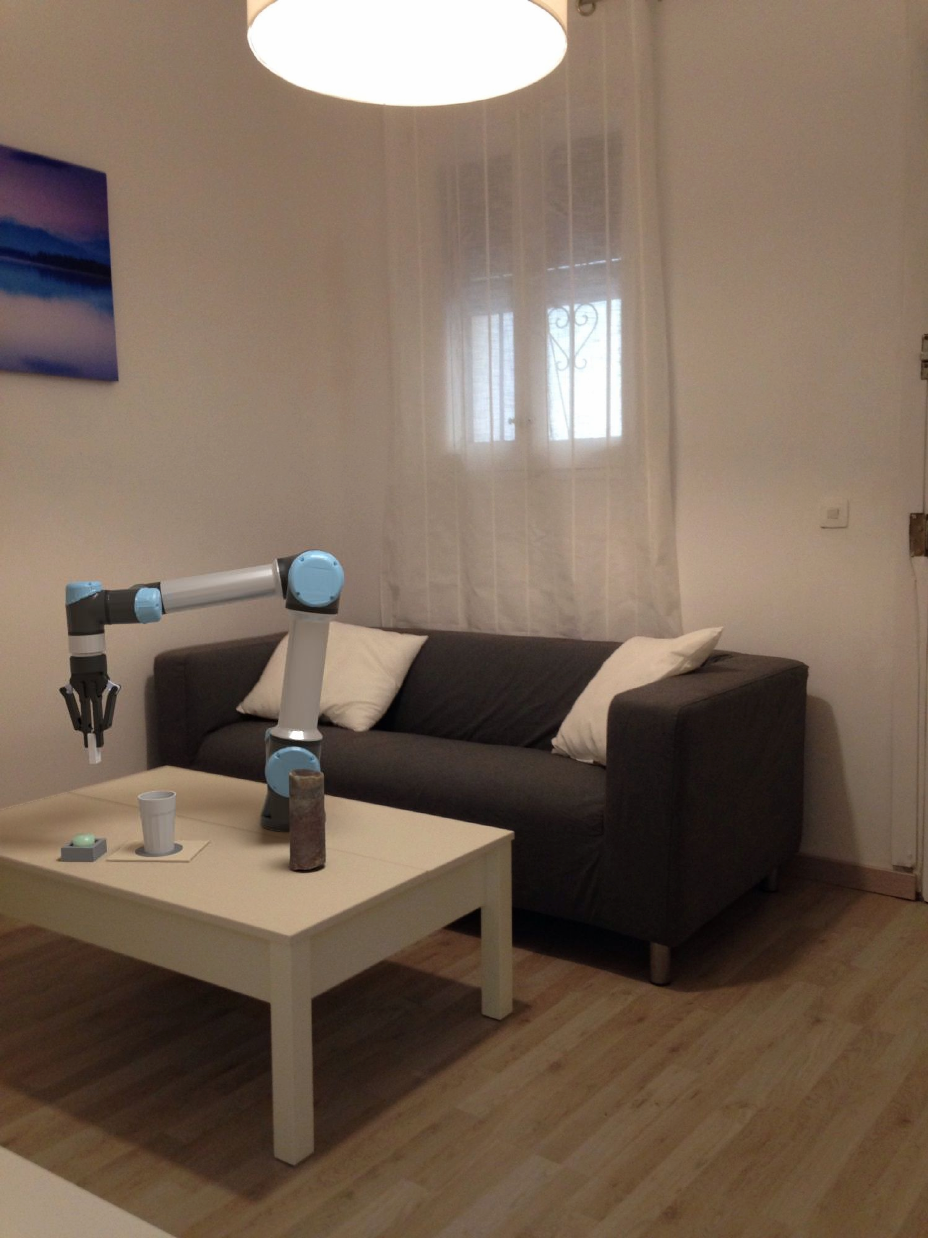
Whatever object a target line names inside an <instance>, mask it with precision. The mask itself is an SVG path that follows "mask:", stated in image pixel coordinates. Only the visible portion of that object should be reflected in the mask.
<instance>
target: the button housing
mask: <svg viewBox="0 0 928 1238" xmlns="http://www.w3.org/2000/svg"><path fill="white" fill-rule="evenodd" d="M94 839H95V843H94V844H93V845H92V846H90V847H83V846H73V839H71V840H70V841H69V842H67V843H65V844H63V846H61V847H60V857H61V858H60V859H61V862H65V863H66V862H70V863H71V862H73V863H74V862H76V863H94V862H95V861H97V860H98V859H99V858H101V857H102V856H103V855H105V854H106V853H107V852H108V847H107V846H108V844H107V843H108V842H107V838H106V837H94Z"/></svg>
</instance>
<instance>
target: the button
mask: <svg viewBox="0 0 928 1238" xmlns="http://www.w3.org/2000/svg"><path fill="white" fill-rule="evenodd" d="M94 838H95V834H94V833H90V832H87V833H85V832H84V833H83V832H82V833H79V834H75V835H73V836H72V840H73V846H83V847H90V846H92V845H93V844H94V843H95V839H94Z"/></svg>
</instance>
